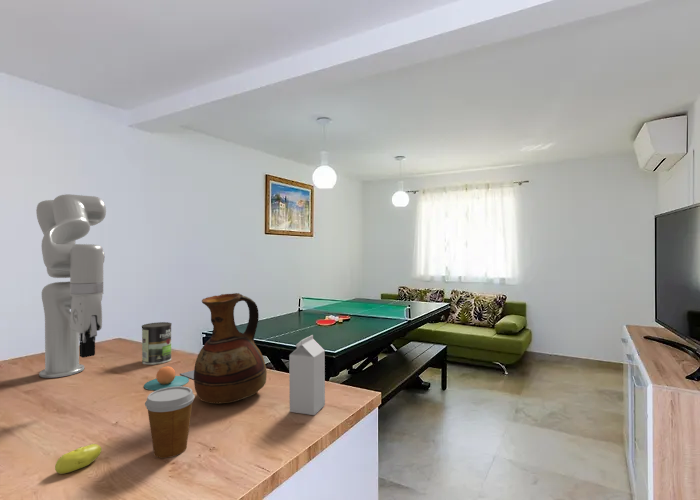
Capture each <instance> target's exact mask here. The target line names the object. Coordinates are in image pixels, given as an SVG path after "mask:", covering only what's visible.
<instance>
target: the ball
mask: <svg viewBox="0 0 700 500" xmlns="http://www.w3.org/2000/svg"><path fill="white" fill-rule="evenodd" d="M175 376H176V371H175V369H174V368H173V367H172V366H169V365H167V366H163V367H160V368H159V369H158V370H157V372H156V376H155V377H156V378H155V379H157V381H158V382H159V383H160V384H169V383H171V382H172V381H173V380H174V378H175Z"/></svg>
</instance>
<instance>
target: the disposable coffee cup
mask: <svg viewBox="0 0 700 500" xmlns="http://www.w3.org/2000/svg"><path fill="white" fill-rule="evenodd" d="M194 400H195V394H194V392H193V389H192V388H191V387H188V386H177V387H168V388H163V389H159V390H153V392H151V393H149V394H148V395H147V398H146V401H145V402H144V405H145V408H146V409H147V412H148V421H149V429H150V435H151V441H152V447H153V448H152V449H153V456H155V457H156V458H160V459H165V458H172V457H176V456H178V455H180V454H182V453H184V452H185V451H186V449H187V447H188V439H189V430H190V422H191V416H192V414H191V413H192V406H193V402H194Z"/></svg>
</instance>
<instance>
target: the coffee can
mask: <svg viewBox="0 0 700 500" xmlns="http://www.w3.org/2000/svg"><path fill="white" fill-rule="evenodd" d="M141 338H142V339H141V340H142V341H141V351H142V352H141V353H142V354H141V359H142V360H141V361H142V362H141V363H142V364H143V365H147V366H148V365H149V366H150V365H154V366H155V365H161V364H166V363H168V362H171V361H172V322H165V321H163V322H161V321H160V322H149V323H146V324H142V325H141Z"/></svg>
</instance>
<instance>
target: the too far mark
mask: <svg viewBox="0 0 700 500" xmlns="http://www.w3.org/2000/svg"><path fill="white" fill-rule="evenodd" d="M179 376H184V377H187V378H188V379H191V380H193V381H194V369H193V370H190V371H186V372H183V373H179Z"/></svg>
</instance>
